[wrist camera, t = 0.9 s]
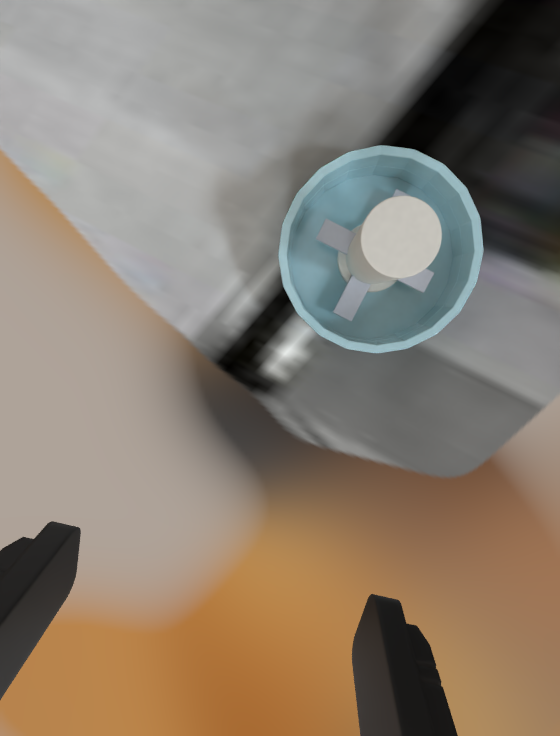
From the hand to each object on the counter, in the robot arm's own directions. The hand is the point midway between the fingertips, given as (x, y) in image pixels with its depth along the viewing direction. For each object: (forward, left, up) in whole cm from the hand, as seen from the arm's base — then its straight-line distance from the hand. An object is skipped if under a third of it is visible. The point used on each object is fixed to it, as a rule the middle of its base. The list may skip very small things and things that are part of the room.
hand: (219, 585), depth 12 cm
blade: (-12, +1, -26) cm, 28 cm away
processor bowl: (-12, +1, -26) cm, 29 cm away
